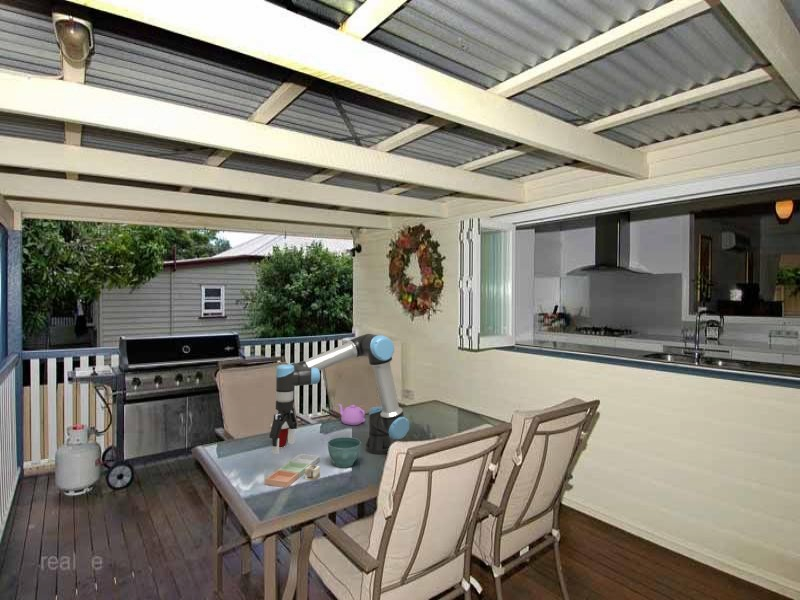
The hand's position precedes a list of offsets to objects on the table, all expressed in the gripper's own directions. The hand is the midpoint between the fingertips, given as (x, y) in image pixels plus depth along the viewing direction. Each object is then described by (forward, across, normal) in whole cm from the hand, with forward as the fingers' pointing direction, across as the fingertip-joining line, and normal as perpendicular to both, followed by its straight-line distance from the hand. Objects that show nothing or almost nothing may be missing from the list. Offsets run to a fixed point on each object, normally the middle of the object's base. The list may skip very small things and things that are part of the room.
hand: (283, 448), depth 200 cm
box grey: (+15, -22, 0) cm, 26 cm away
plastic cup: (+15, -40, -24) cm, 49 cm away
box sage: (+15, -11, 0) cm, 18 cm away
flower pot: (+15, -27, +18) cm, 36 cm away
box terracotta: (+15, 0, 0) cm, 15 cm away
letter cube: (+15, -7, +11) cm, 20 cm away
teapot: (+15, -94, -4) cm, 95 cm away
